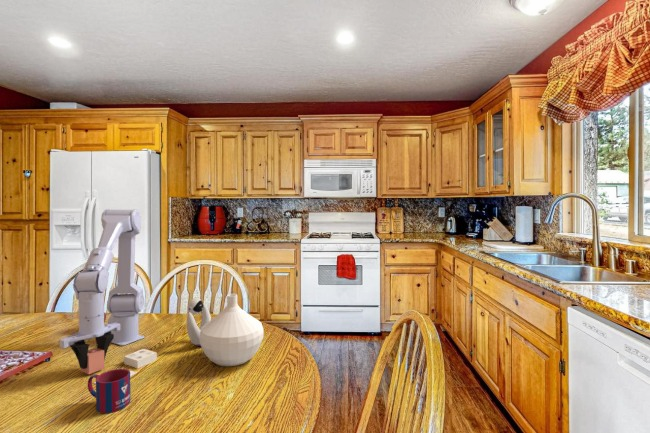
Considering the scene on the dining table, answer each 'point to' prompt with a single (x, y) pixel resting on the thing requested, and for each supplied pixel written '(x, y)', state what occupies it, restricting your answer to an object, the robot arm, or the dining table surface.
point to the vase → (231, 335)
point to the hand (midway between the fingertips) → (92, 364)
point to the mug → (111, 390)
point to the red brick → (94, 361)
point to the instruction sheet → (130, 374)
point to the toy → (192, 328)
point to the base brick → (140, 358)
